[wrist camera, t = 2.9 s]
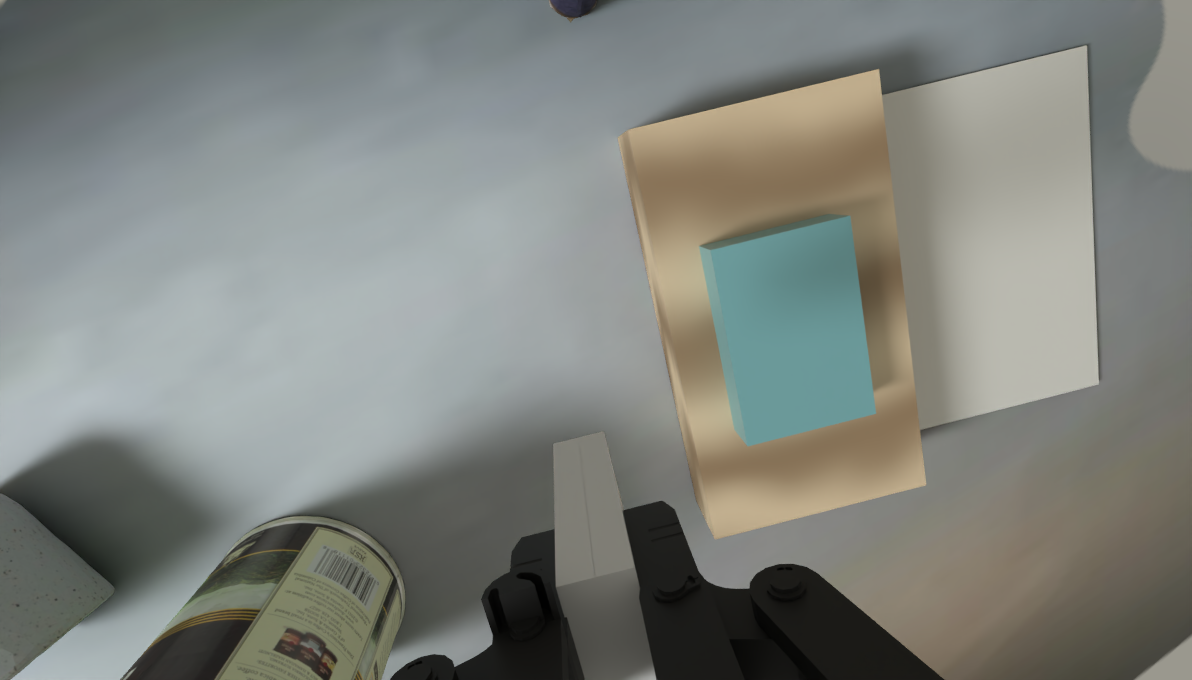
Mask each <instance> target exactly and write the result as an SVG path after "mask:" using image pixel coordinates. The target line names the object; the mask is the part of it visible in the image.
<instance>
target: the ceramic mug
mask: <svg viewBox="0 0 1192 680" xmlns="http://www.w3.org/2000/svg"><path fill="white" fill-rule="evenodd" d="M114 591H115V589H114V587H113V586H112V585H111V584H110V583H109V582H108V581H107V580H106V579H105V578H103V577H102V576H101V575H100V574H99V573H98V572H96V571H95V570H94V569H93V568H92V567H90V566H89V565H88V564H87V563H86V562H85V561H84V560H83V559H82V558H80V557H79V556H78V555H77V554H76V553H75V552H74V551H73V550H72V549H71V548H69V547H68V546H67V545H66V544H65V543H63V542H62V541H61V540H59V539H58V538H57V537H56V536H54V535H53V534H52V533H51V532H50V531H49V530H48V529H47V528H46V527H45V526H44V525H43V524H42V523H41V522H39V521H38V520H37V519H36V518H35V517H34V516H33V515H32V514H30V513H29V512H28V511H27V510H26V509H25V508H24V507H22V506H21V505H20V504H19V503H17V502H15V501H14V500H12V499H10V498H9V497H7V496H5V495H3V494H1V493H0V680H10V679H12V678H13V677H14V676H15V675H17V674H18V673H19V672H20V671H22V670H23V669H24V668H25V667H26V666H27V665H29V664H30V663H31V662H32V661H33V660H34V659H35V658H36V657H38V656H39V655H40V654H42V653H43V652H44V651H46V650H47V649H48V648H50V647H51V646H52V645H53V644H54V643H56V642H57V641H58V640H59V639H60V638H62V637H63V636H64V635H65V634H66V633H67V632H68V631H70V630H71V629H72V628H73V627H75V626H76V625H77V624H78V623H80V622H81V621H82V620H83V619H84V618H85V617H86V616H88V615H89V614H90V613H92V612H93V611H94V610H95V609H96V608H97V607H99V606H100V605H101V604H102V603H103V602H105V601H106V600H107V599H108V598H109V597H110V596H112V595H113V593H114Z"/></svg>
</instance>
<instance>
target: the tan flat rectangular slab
mask: <svg viewBox="0 0 1192 680" xmlns="http://www.w3.org/2000/svg"><path fill="white" fill-rule="evenodd" d="M618 141H619V146H620V151H621V155H622V160H623V164H624V169H625V174H626V178H627V183H628V188H629V192H630V197H631V201H632V206H633V211H634V215H635V220H636V225H637V229H638V234H639V238H640V243H641V248H642V252H643V257H644V261H645V266H646V271H647V275H648V280H649V285H650V289H651V294H652V298H653V303H654V308H655V312H656V317H657V322H658V326H659V331H660V335H661V340H662V345H663V349H664V354H665V358H666V363H667V368H668V372H669V377H670V382H671V386H672V391H673V395H674V400H675V405H676V409H677V414H678V419H679V423H680V428H681V432H682V437H683V442H684V446H685V451H686V455H687V460H688V465H689V469H690V474H691V479H692V483H693V488H694V492H695V497H696V501H697V503H698V505H699V507H700V509H701V512H702V514H703V516H704V518H705V520H706V522H707V524H708V526H709V528H710V530H711V532H712V534H713V536H714V538H715V539H719V538H723V537H727V536H731V535H735V534H738V533H742V532H746V531H750V530H754V529H758V528H762V527H766V526H769V525H773V524H777V523H781V522H785V521H789V520H793V519H797V518H801V517H804V516H808V515H812V514H816V513H820V512H824V511H828V510H832V509H836V508H839V507H843V506H847V505H851V504H855V503H859V502H863V501H867V500H870V499H874V498H878V497H882V496H886V495H890V494H894V493H898V492H902V491H905V490H909V489H913V488H917V487H921V486H925V485H926V480H925V471H924V462H923V453H922V445H921V436H920V427H919V418H918V409H917V400H916V392H915V383H914V374H913V365H912V356H911V348H910V339H909V330H908V321H907V312H906V303H905V295H904V286H903V277H902V268H901V259H900V250H899V242H898V233H897V224H896V215H895V206H894V198H893V189H892V180H891V171H890V162H889V153H888V145H887V136H886V127H885V118H884V109H883V101H882V92H881V83H880V74H879V69H877V70H873V71H868V72H864V73H860V74H856V75H852V76H848V77H844V78H840V79H835V80H831V81H827V82H823V83H819V84H815V85H811V86H807V87H802V88H798V89H794V90H790V91H786V92H782V93H778V94H774V95H769V96H765V97H761V98H757V99H753V100H749V101H745V102H741V103H736V104H732V105H728V106H724V107H720V108H716V109H712V110H708V111H703V112H699V113H695V114H691V115H687V116H683V117H679V118H675V119H670V120H666V121H662V122H658V123H654V124H650V125H646V126H642V127H637V128H633V129H629V130H627V131H626V132H624V133H623V134H622V135H620V136H619V137H618ZM827 214H836V215H848V216H850V218H851V226H852V233H853V241H854V248H855V256H856V264H857V271H858V279H859V287H860V294H861V302H862V309H863V317H864V325H865V332H866V340H867V347H868V355H869V363H870V370H871V378H872V386H873V393H874V401H875V408H876V414H873V415H870V416H866V417H862V418H858V419H854V420H850V421H846V422H842V423H838V424H834V425H830V426H826V427H822V428H818V429H815V430H811V431H807V432H803V433H799V434H795V435H791V436H787V437H783V438H779V439H775V440H771V441H767V442H763V443H759V444H756V445H752V446H747V445H746V444H745V443H744V441H743V440H742V439H741V438H740V436H739V435H738V434H737V433H736V431H735V430H734V425H733V420H732V415H731V409H730V404H729V399H728V394H727V389H726V384H725V378H724V373H723V368H722V363H721V358H720V353H719V347H718V342H717V337H716V332H715V327H714V322H713V316H712V311H711V306H710V301H709V296H708V291H707V285H706V280H705V275H704V270H703V265H702V260H701V254H700V249H699V246H701V245H705V244H709V243H713V242H717V241H721V240H725V239H729V238H734V237H738V236H742V235H746V234H750V233H754V232H758V231H762V230H766V229H770V228H774V227H778V226H782V225H786V224H790V223H794V222H798V221H802V220H806V219H810V218H814V217H819V216H823V215H827Z"/></svg>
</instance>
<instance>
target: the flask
mask: <svg viewBox="0 0 1192 680" xmlns="http://www.w3.org/2000/svg"><path fill="white" fill-rule="evenodd" d="M596 3H597V0H549V4H550V6H551V8H552V9H554V10H555V11H556V12H557V13H559V14H561V15H562V16H564V17H567V19H568V20H569V21H570V23H571V21H572V20H573V19H574V18H578V17H581V16H584V15H587V14H589V13H590V11H591V10H592V9H593V8H594V7H595V6H596Z"/></svg>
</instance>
